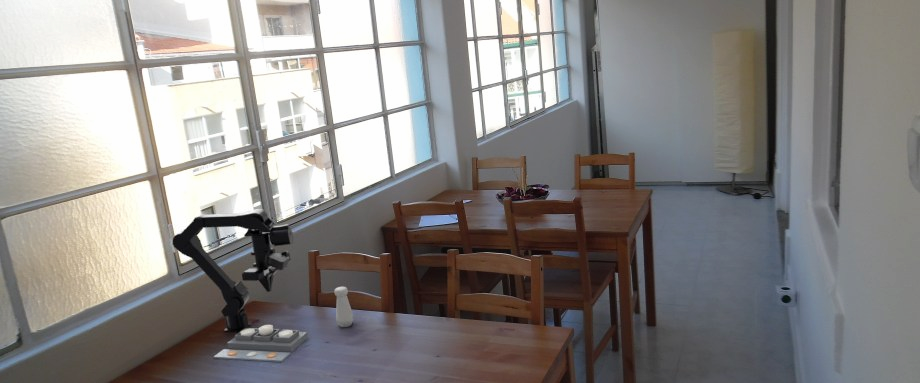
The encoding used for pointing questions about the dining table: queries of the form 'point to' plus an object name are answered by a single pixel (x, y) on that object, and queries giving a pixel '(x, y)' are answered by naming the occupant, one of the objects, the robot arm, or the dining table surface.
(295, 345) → the button board
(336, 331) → the dining table surface
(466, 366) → the dining table surface
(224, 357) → the pattern card
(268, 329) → the button middle
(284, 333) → the button right
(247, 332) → the button left
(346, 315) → the salt shaker
